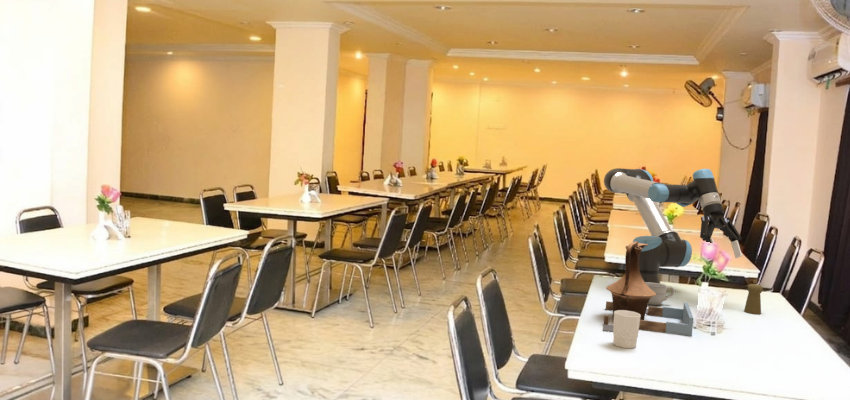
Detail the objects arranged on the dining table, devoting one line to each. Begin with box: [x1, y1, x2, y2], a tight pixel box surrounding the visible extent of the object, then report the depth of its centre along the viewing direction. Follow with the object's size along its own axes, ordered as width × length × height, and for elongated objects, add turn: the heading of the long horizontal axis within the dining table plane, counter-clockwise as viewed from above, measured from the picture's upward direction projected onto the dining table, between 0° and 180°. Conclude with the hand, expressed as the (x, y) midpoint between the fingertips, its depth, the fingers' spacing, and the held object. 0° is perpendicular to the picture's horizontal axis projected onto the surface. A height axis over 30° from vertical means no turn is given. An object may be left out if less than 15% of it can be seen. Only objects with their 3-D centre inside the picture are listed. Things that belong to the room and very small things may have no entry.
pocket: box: [661, 301, 694, 337], centre depth 246 cm, size 8×24×6 cm, turn 164°
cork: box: [743, 283, 763, 315], centre depth 274 cm, size 6×6×11 cm
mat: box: [602, 323, 614, 333], centre depth 235 cm, size 10×8×1 cm
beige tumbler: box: [612, 310, 641, 349], centre depth 217 cm, size 8×8×10 cm
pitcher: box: [605, 241, 656, 320], centre depth 249 cm, size 18×17×28 cm
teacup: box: [645, 282, 676, 306], centre depth 278 cm, size 14×11×8 cm
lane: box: [603, 300, 666, 334], centre depth 249 cm, size 20×24×3 cm
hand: (726, 256), depth 274 cm, fingers open, 13 cm apart
